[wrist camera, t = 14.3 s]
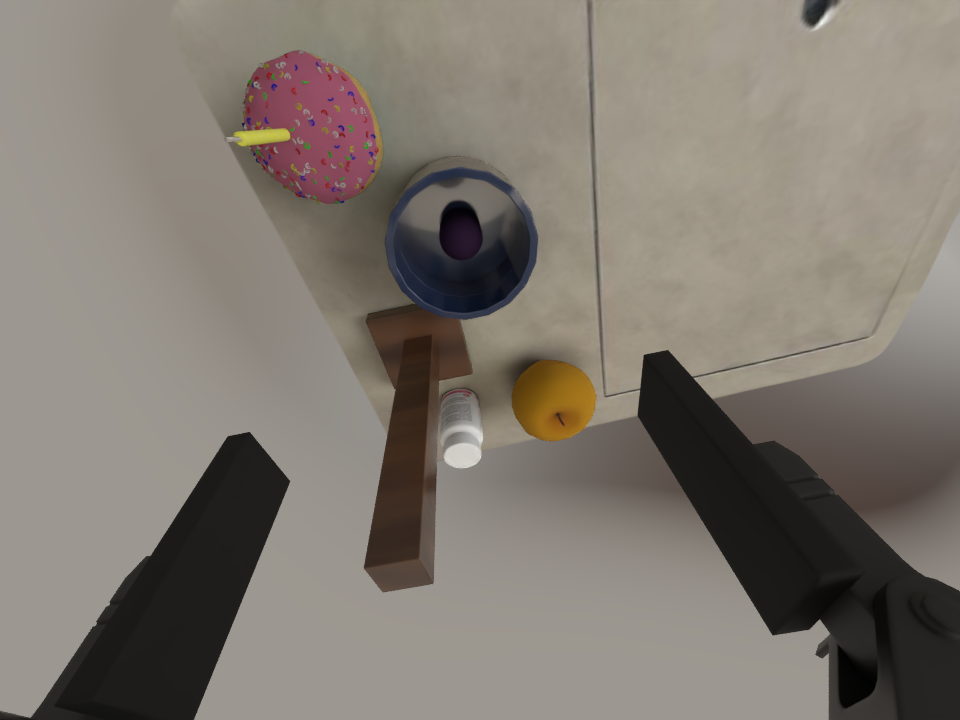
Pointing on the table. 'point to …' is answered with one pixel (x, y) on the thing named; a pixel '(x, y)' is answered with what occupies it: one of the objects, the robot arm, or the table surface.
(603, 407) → the table surface
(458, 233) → the purple plum
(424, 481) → the stand
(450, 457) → the pill bottle
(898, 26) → the table surface
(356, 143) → the cupcake
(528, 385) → the apple
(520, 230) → the pot
